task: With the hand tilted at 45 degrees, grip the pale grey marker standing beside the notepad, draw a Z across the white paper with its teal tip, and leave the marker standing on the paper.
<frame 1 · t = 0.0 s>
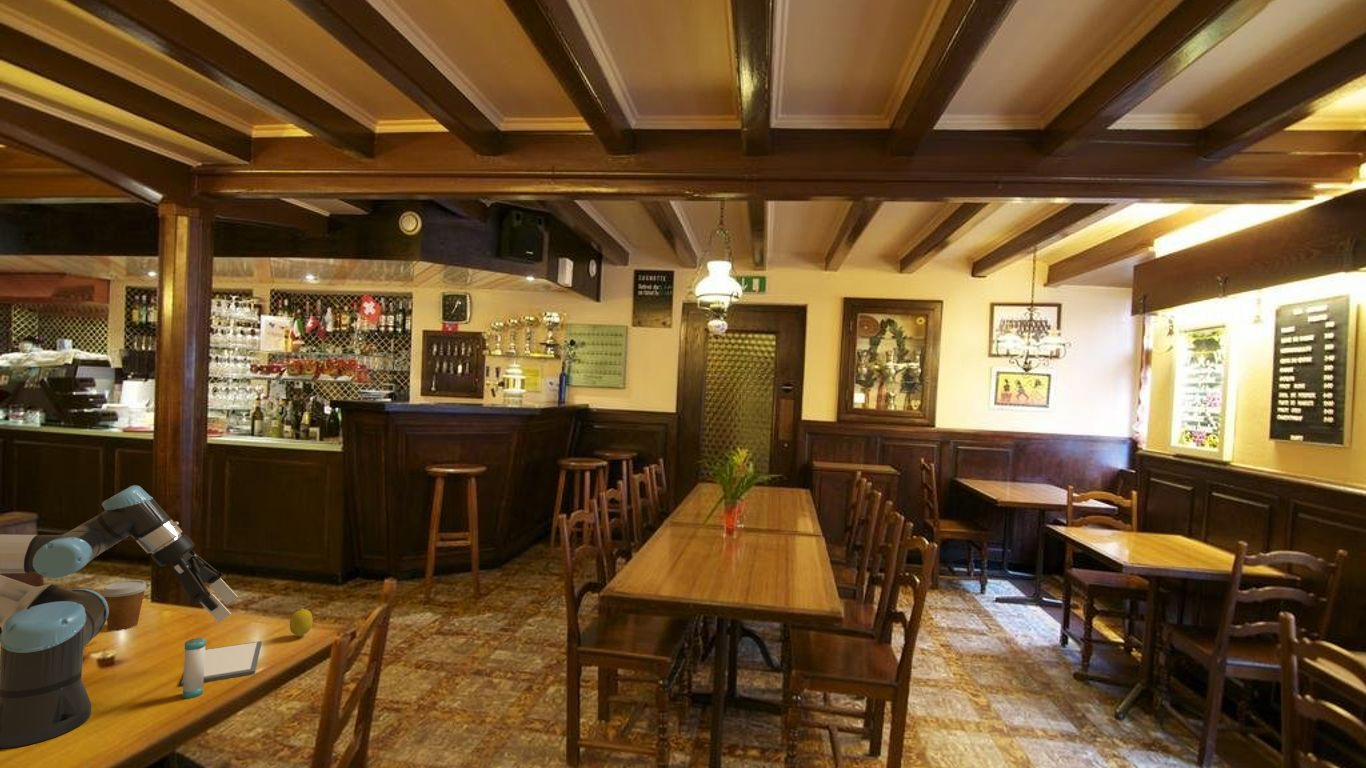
hand: (229, 609, 148), 15 cm above the table, tool tilted 35°, fingers open, 13 cm apart
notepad: (224, 663, 152), on the table
disposable coffee cup: (122, 627, 173), on the table
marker: (192, 694, 137), on the table
lemon: (300, 637, 170), on the table
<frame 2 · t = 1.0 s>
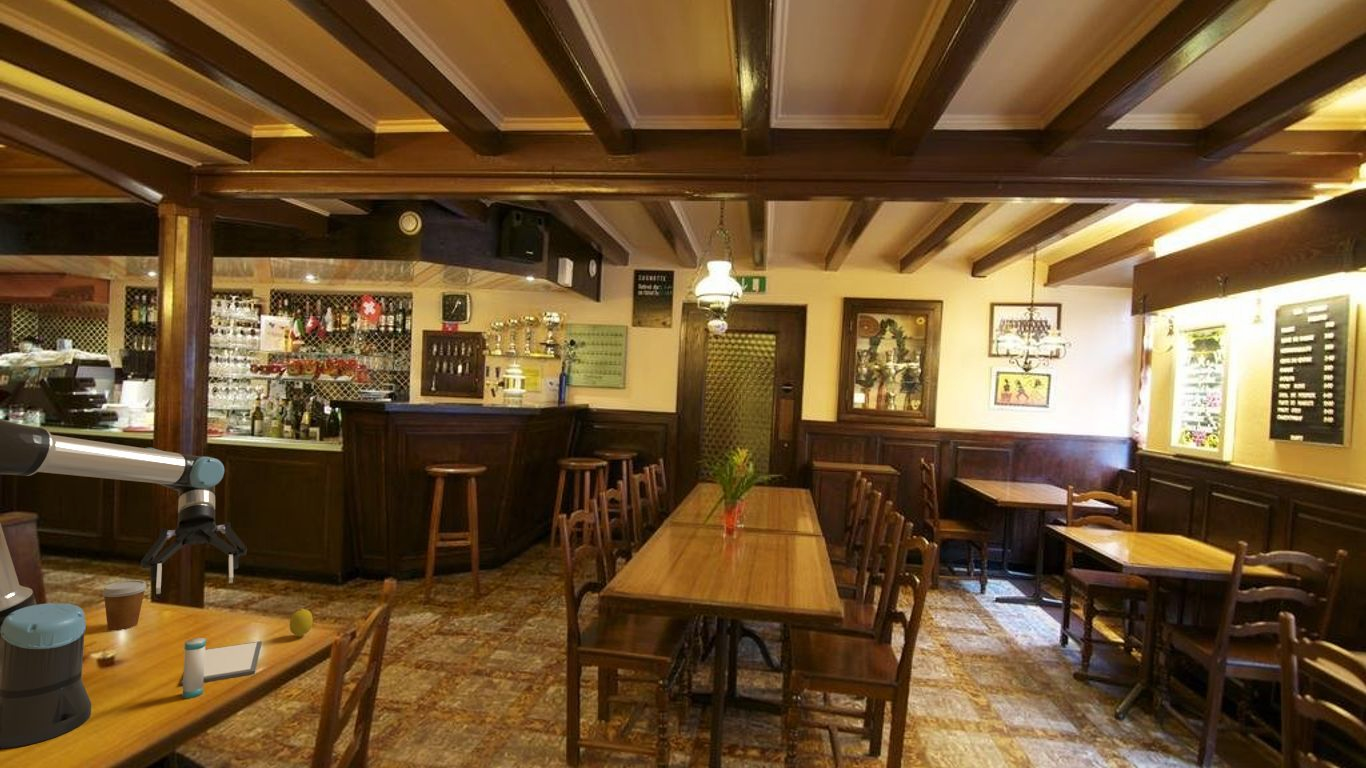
hand: (195, 585, 145), 22 cm above the table, tool tilted 45°, fingers open, 13 cm apart
nothing on the table moved.
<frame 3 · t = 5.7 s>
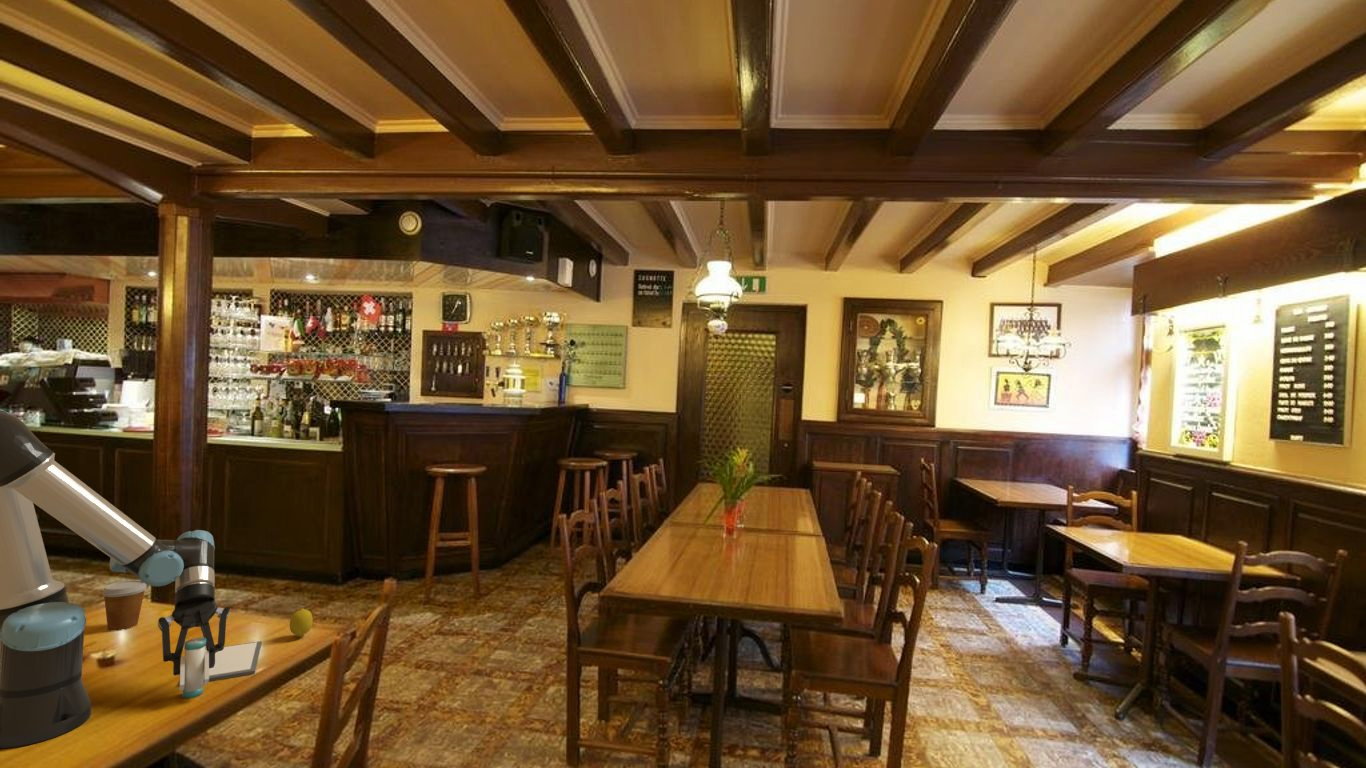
hand: (194, 684, 134), 4 cm above the table, tool tilted 45°, fingers closed on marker, 3 cm apart
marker: (192, 694, 137), on the table, touching gripper
everything else where it was.
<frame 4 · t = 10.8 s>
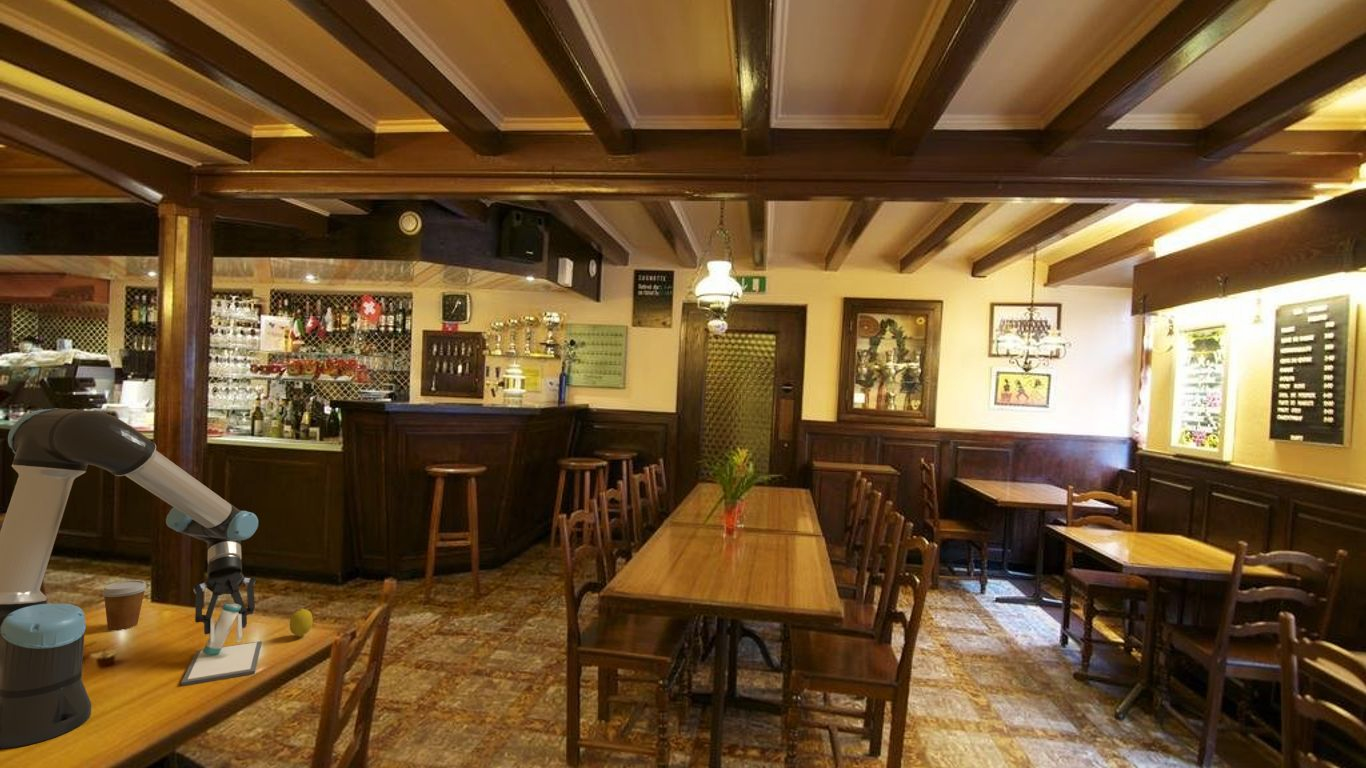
hand: (226, 641, 154), 5 cm above the table, tool tilted 45°, fingers closed on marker, 5 cm apart
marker: (211, 652, 155), point 2 cm above the table, tilted 20°, touching gripper, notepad
everything else where it was.
when the fingers open (5 cm above the table, at t = 16.0 s): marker stays where it is, resting on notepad.
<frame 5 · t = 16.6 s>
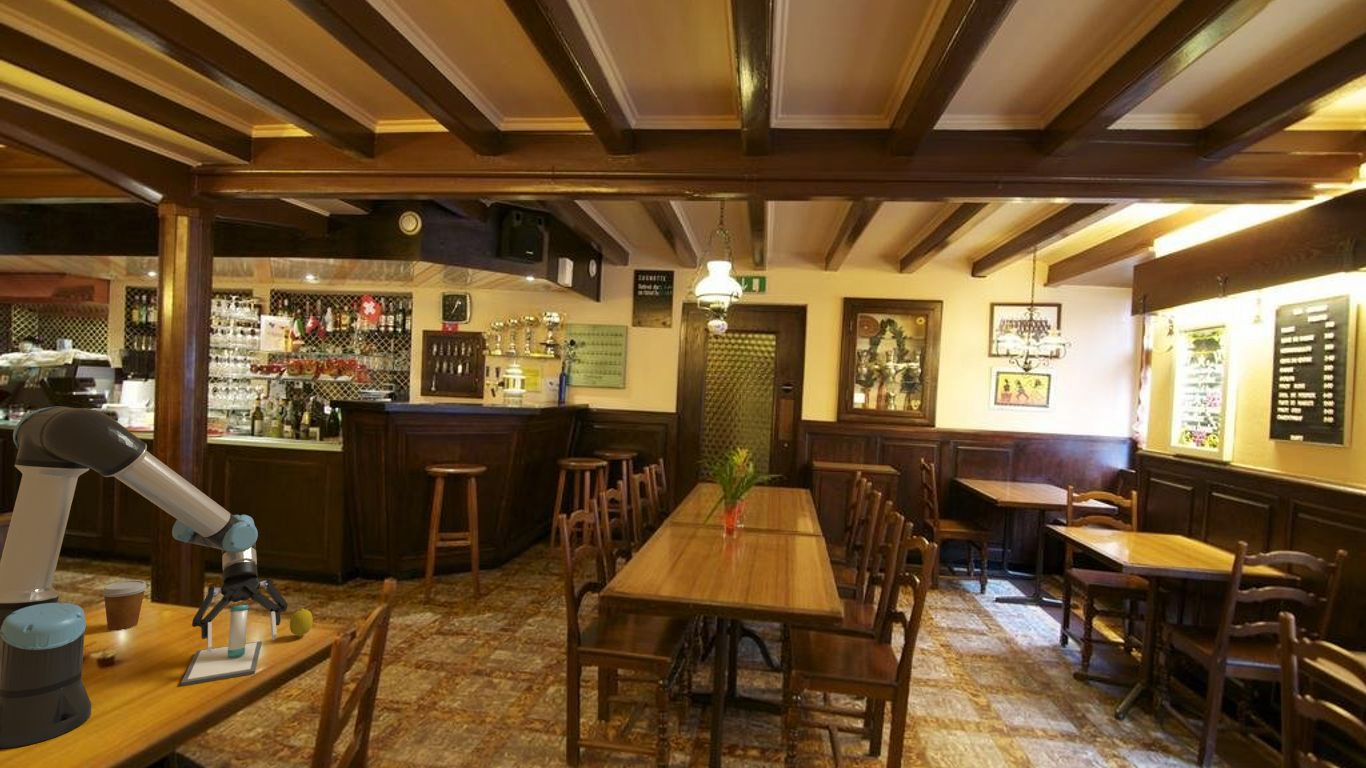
hand: (242, 643, 151), 6 cm above the table, tool tilted 45°, fingers open, 12 cm apart
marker: (236, 654, 154), point 1 cm above the table, tilted 14°, touching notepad
everything else where it was.
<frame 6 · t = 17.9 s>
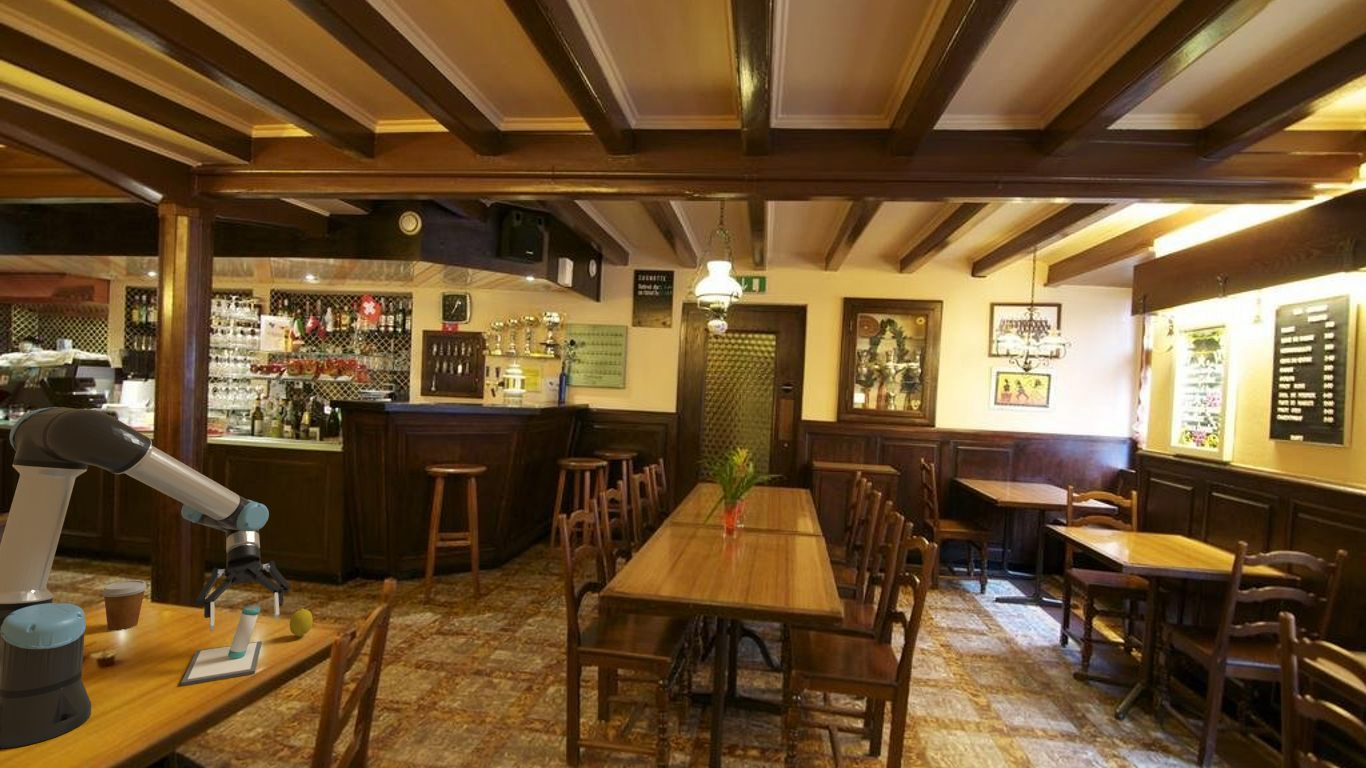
hand: (245, 622, 155), 9 cm above the table, tool tilted 45°, fingers open, 13 cm apart
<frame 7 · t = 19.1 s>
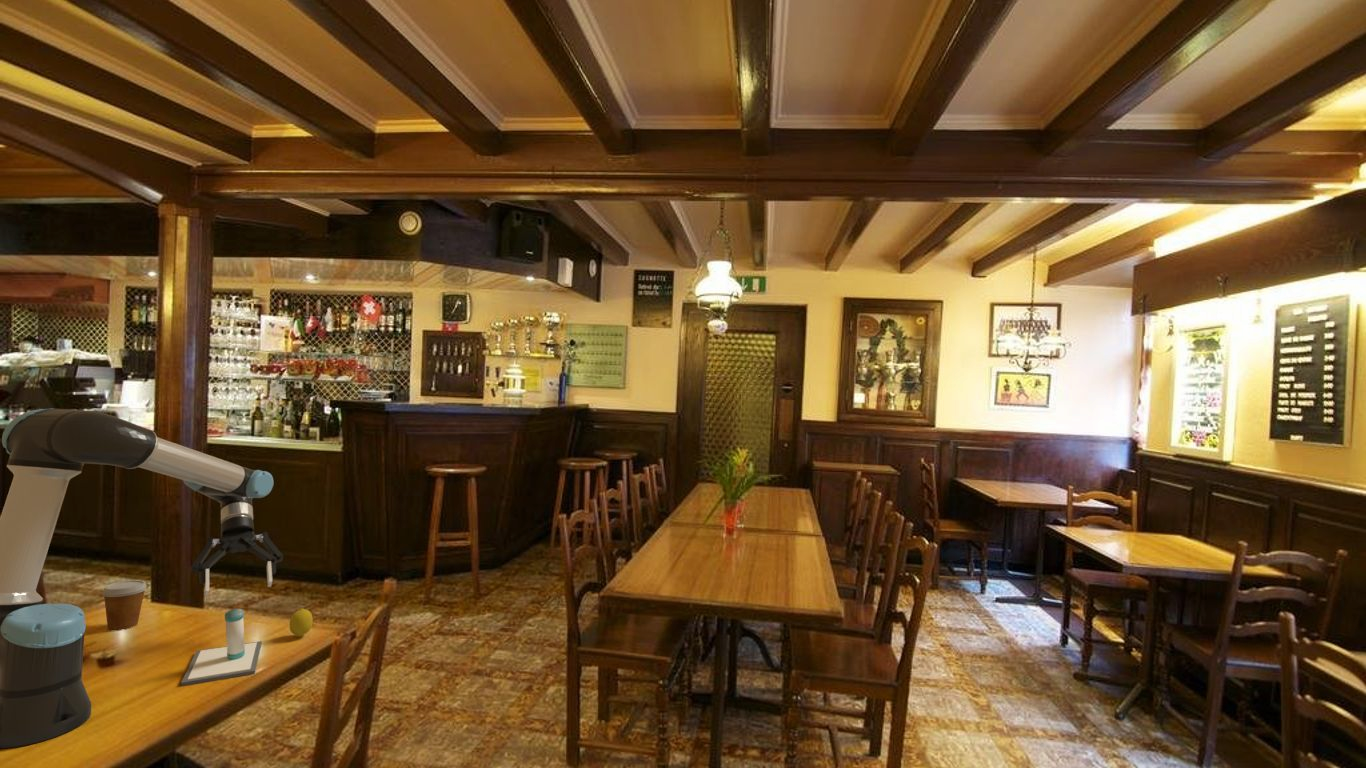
hand: (239, 589, 161), 16 cm above the table, tool tilted 45°, fingers open, 13 cm apart
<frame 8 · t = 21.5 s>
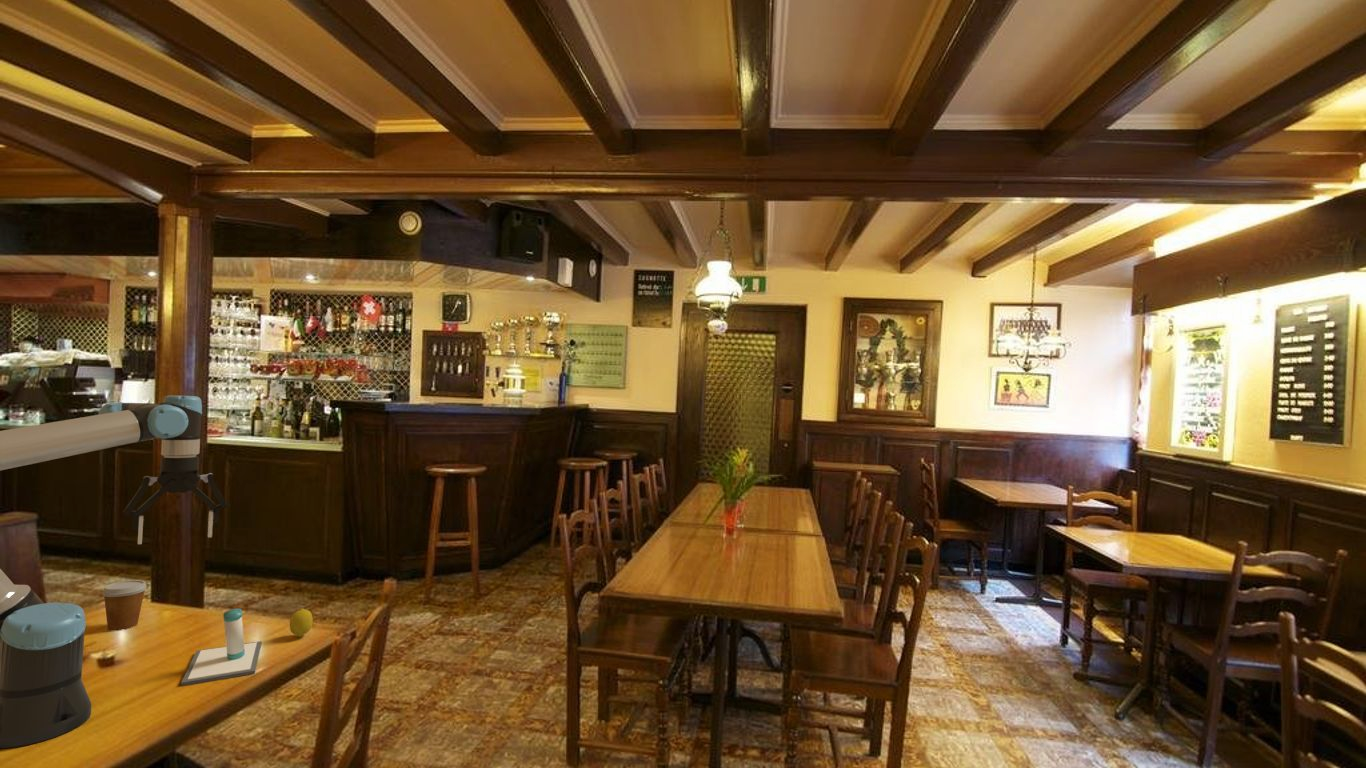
hand: (175, 539, 153), 31 cm above the table, tool pointing down, fingers open, 13 cm apart
at the end: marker inside the target area (2.6 cm from its centre), point 1.1 cm above the table; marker tilted 2°; the gripper is holding nothing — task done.
